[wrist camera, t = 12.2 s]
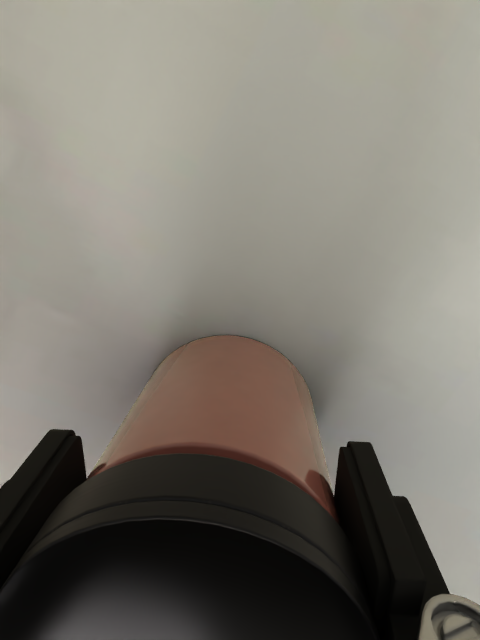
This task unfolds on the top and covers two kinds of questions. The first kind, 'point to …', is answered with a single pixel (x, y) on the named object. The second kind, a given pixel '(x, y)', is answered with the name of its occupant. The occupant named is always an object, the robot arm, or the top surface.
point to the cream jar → (228, 414)
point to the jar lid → (187, 560)
